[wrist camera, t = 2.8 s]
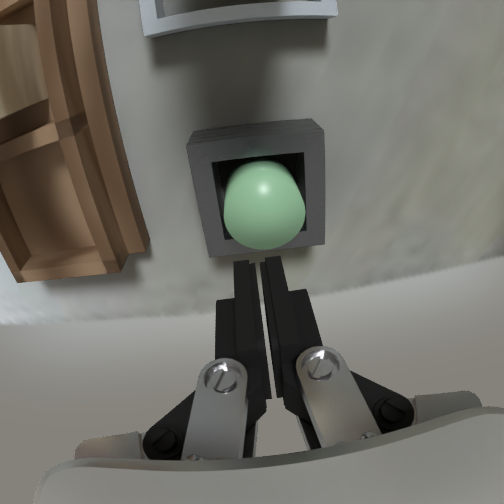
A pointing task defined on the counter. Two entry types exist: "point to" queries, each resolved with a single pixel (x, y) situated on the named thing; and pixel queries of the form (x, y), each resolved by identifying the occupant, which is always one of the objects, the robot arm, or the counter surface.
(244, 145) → the switch box
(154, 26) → the grey square frame
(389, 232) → the counter surface
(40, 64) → the block
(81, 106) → the brown wooden tray
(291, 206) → the button
